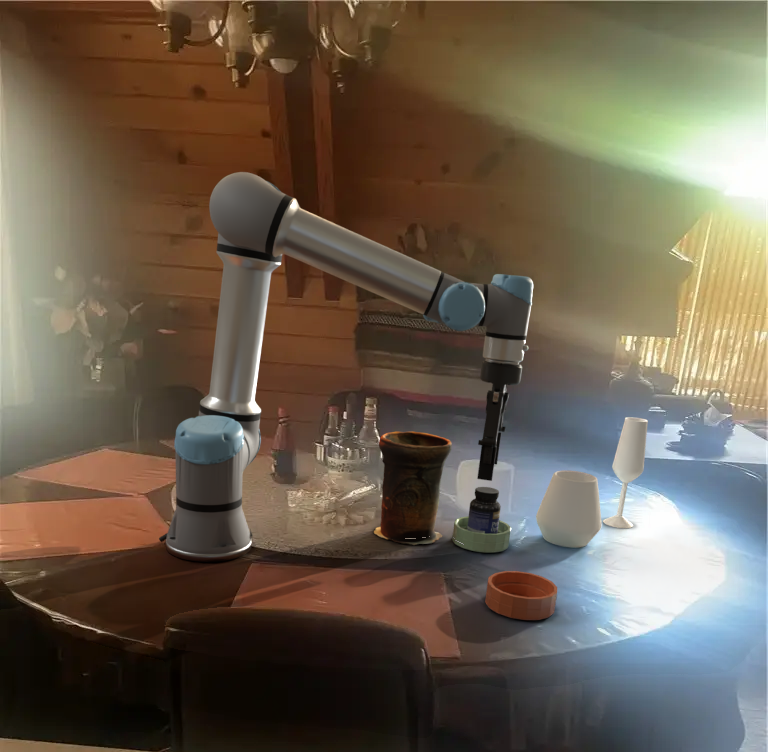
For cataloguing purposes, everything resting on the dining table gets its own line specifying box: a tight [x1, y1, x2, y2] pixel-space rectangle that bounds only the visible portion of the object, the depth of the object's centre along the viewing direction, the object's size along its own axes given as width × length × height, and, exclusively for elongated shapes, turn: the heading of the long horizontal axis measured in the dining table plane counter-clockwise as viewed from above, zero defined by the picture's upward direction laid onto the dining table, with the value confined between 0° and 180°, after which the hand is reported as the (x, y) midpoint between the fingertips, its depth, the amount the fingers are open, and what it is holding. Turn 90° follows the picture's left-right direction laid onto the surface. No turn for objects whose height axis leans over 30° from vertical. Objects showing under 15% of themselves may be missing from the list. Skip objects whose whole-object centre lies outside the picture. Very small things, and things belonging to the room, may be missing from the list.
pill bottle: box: [467, 486, 502, 534], centre depth 150 cm, size 6×6×11 cm
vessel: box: [373, 431, 453, 546], centre depth 152 cm, size 14×14×20 cm
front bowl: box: [484, 570, 558, 621], centre depth 124 cm, size 11×11×4 cm
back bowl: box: [452, 515, 512, 553], centre depth 152 cm, size 11×11×4 cm
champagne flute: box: [602, 416, 649, 529], centre depth 169 cm, size 7×7×24 cm
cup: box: [535, 469, 603, 548], centre depth 156 cm, size 13×13×14 cm
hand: (487, 471), depth 148 cm, fingers open, 13 cm apart
